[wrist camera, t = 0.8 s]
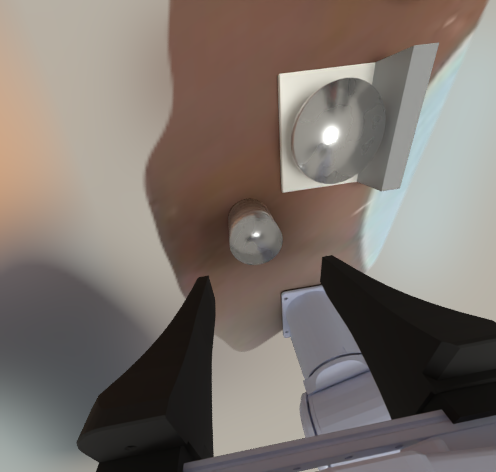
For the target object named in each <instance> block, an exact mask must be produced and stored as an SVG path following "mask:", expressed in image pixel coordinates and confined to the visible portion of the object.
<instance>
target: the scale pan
mask: <svg viewBox="0 0 496 472" xmlns="http://www.w3.org/2000/svg"><path fill="white" fill-rule="evenodd" d="M385 124H386V114H385V107H384V103H383V100H382V98H381V96H380V94H379V92H378V91H377V90H376V89H375V87H373V86H372V85H371V84H370V83H368V82H366V81H365V80H362V79H359V78H343V79H338V80H336V81H333V82H331V83H328V84H326V85H324V86H322V87H321V88H319V89H318V90H316V91H315V92H314V93H313V94H312V95H311V96H310V97H309V98H308V99H307V100H306V101H305V102H304V104H303V105H302V107H301V108H300V110H299V112H298V114H297V116H296V118H295V121H294V124H293V127H292V132H291V152H292V156H293V159H294V162H295V164H296V166H297V167H298V168H299V170H300V171H301V172H302V173H303V174H304V175H305V176H307V177H309V178H310V179H312V180H314V181H316V182H319V183H323V184H335V183H340V182H343V181H346V180H348V179H350V178H352V177H353V176H355V175H356V174H358V173H359V172H360V171H362V170H363V169H364V168H365V167H366V166H367V164H368V163H369V162H370V161H371V160H372V158H373V157H374V155H375V154H376V152H377V150H378V148H379V146H380V144H381V141H382V138H383V135H384V131H385Z"/></svg>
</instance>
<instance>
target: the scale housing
mask: <svg viewBox="0 0 496 472" xmlns="http://www.w3.org/2000/svg"><path fill="white" fill-rule="evenodd" d="M438 45H439V43H432V44H424V45H415V46H412V47H410V48H407V49H405V50H403V51H401V52H398V53H396V54H394V55H391V56H389V57H387V58H384V59H382V60H380V61H377V62H374V63H366V64H357V65H349V66H341V67H333V68H325V69H316V70H308V71H300V72H292V73H283V74H279V75H278V103H279V134H280V166H281V191H282V192H283V193H284V192H290V191H297V190H304V189H310V188H317V187H324V186H330V185H337V184H344V183H350V182H359V183H362V184H364V185H367V186H369V187H372V188H375V189H377V190H380V191H386V190H393V189H399V188H400V186H401V182H402V178H403V175H404V171H405V167H406V163H407V160H408V156H409V152H410V149H411V145H412V141H413V138H414V134H415V130H416V127H417V123H418V119H419V115H420V112H421V108H422V104H423V101H424V97H425V93H426V89H427V86H428V82H429V78H430V75H431V71H432V67H433V63H434V60H435V56H436V52H437V49H438ZM343 78H359V79H362V80H365V81H366V82H368V83H370V84H371V85H372V86H373V87H375V89H376V90H377V91H378V92H379V94H380V96H381V98H382V100H383V103H384V107H385V114H386V124H385V131H384V135H383V138H382V141H381V144H380V146H379V148H378V150H377V152H376V154H375V155H374V157H373V158H372V160H371V161H370V162H369V163H368V164H367V166H366V167H365V168H364V169H363V170H362V171H360V172H359V173H358V174H356V175H355V176H353V177H352V178H350V179H348V180H346V181H343V182H340V183H335V184H323V183H319V182H316V181H314V180H312V179H310V178H309V177H307V176H305V175H304V174H303V173H302V172H301V171H300V170H299V168H298V167H297V166H296V164H295V162H294V159H293V156H292V152H291V132H292V127H293V124H294V121H295V118H296V116H297V114H298V112H299V110H300V108H301V107H302V105H303V104H304V102H305V101H306V100H307V99H308V98H309V97H310V96H311V95H312V94H313V93H314V92H315V91H316V90H318V89H319V88H321V87H322V86H324V85H326V84H328V83H331V82H333V81H336V80H338V79H343Z"/></svg>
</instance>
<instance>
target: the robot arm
mask: <svg viewBox="0 0 496 472" xmlns="http://www.w3.org/2000/svg"><path fill="white" fill-rule="evenodd" d="M320 282H321V284H322V285H320V286H314V287H308V288H303V289H297V290H291V291H285V292H283V293H282V295H281V297H282V320H283V336H284V337H285V338H288V337H291V340H292V343H293V346H294V348H295V352H296V355H297V358H298V361H299V364H300V367H301V370H302V373H303V376H304V378H305V380H304V381H303V382H304V385H305V389H306V392H305V393H303V394H302V396H301V403H300V416H301V421H302V426H303V430H304V433H305V437H306V438H302V439H298V440H293V441H288V442H283V443H279V444H274V445H269V446H264V447H259V448H255V449H250V450H245V451H241V452H235V453H231V454H226V455H221V456H217V457H214V456H213V429H212V348H213V337H214V326H215V297H214V294H213V290H212V287H211V283H210V279H209V276H204V277H199V278H198V279H197V281H196V282H195V284H194V286H193V288H192V290H191V292H190V293H189V295H188V297H187V298H186V300H185V302H184V303H183V305H182V307H181V308H180V310H179V311H178V313H177V314H176V316H175V317H174V319H173V320H172V321H171V323H170V324H169V325H168V327H167V328H166V329H165V331H164V332H163V333H162V334H161V335H160V337H159V338H158V339H157V340H156V341H155V342H154V343H153V345H152V346H151V347H150V348H149V349H148V350H147V351H146V352H145V354H143V355H142V356H141V358H140V359H138V360H137V361H136V362H135V364H133V365H132V366H131V367H130V368H129V369H128V370H127V371H126V372H125V373H124V374H123V375H122V376H121V377H119V378H118V379H117V380H116V381H115V382H114V383H112V384H111V385H110V386H109V387H108V388H107V389H106V390H105V391H103V392H102V393H101V394H100V395H99V396H98V398H97V400H96V402H95V404H94V405H93V407H92V409H91V412H90V414H89V416H88V418H87V420H86V423H85V425H84V427H83V429H82V431H81V434H80V436H79V438H78V440H77V446H78V449H79V450H80V451H81V452H83V453H85V454H86V455H88V456H89V457H91V458H92V459H94V460H96V461H98V462H99V465H98V468H97V471H96V472H299V471H303V470H308V469H313V468H317V467H318V469H319V471H316V472H496V322H494V321H492V320H488V319H485V318H481V317H477V316H473V315H469V314H466V313H462V312H458V311H455V310H451V309H448V308H445V307H442V306H439V305H435V304H432V303H429V302H427V301H424V300H421V299H418V298H416V297H413V296H410V295H408V294H405V293H403V292H401V291H398V290H396V289H393V288H391V287H389V286H387V285H385V284H383V283H381V282H379V281H377V280H375V279H373V278H371V277H369V276H367V275H365V274H364V273H362V272H360V271H358V270H356V269H355V268H353V267H351V266H350V265H348V264H346V263H344V262H343V261H341V260H339V259H338V258H336V257H334V256H332V255H331V256H325V257H322V267H321V278H320Z"/></svg>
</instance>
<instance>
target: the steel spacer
mask: <svg viewBox="0 0 496 472" xmlns="http://www.w3.org/2000/svg"><path fill="white" fill-rule="evenodd" d="M228 226H229V241H230V249H231V252H232V254H233V255H234V257H235V258H236V259H237V260H239V261H240V262H242V263H245V264H249V265H259V264H263V263H266V262H268V261H270V260H271V259H273V258H274V257H275V256H276V255H277V254H278V252H279V251H280V249H281V246H282V242H283V238H282V233H281V231H280V229H279V227H278V226H277V224H276V222H275V220H274V219H273V217H272V215H271V213H270V212H269V210H268V208H267V207H266V205H265V204H264V203H262V202H261V201H259V200H256V199H244V200H241V201H239V202H237V203H236V204H235V205H234V206H233V207H232V208H231V210H230V212H229V215H228Z"/></svg>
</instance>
